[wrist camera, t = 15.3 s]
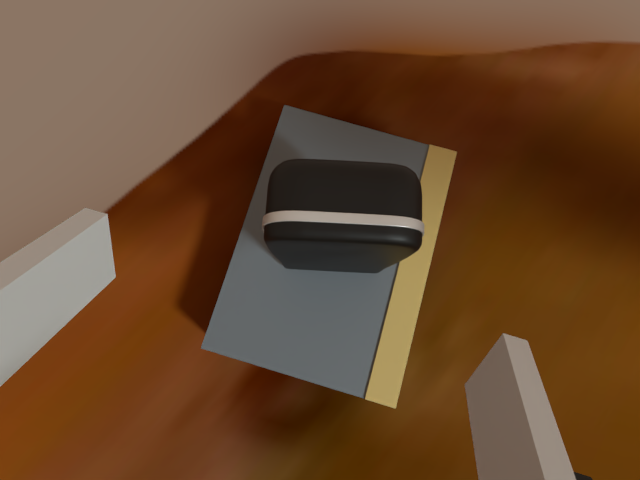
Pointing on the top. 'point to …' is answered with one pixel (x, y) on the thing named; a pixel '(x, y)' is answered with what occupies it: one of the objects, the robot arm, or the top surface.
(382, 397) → the dock
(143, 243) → the top surface
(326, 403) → the top surface
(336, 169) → the battery charger
